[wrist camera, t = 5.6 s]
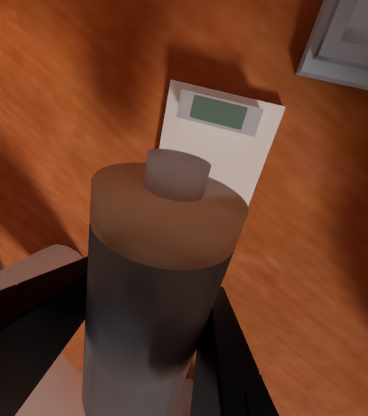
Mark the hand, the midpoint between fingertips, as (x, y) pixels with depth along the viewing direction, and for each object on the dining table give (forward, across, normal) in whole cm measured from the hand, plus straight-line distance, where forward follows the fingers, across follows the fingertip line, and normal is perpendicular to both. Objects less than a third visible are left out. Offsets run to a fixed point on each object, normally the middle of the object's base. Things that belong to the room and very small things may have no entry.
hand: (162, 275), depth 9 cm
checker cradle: (+12, 0, 0) cm, 12 cm away
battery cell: (0, 0, 0) cm, 1 cm away
